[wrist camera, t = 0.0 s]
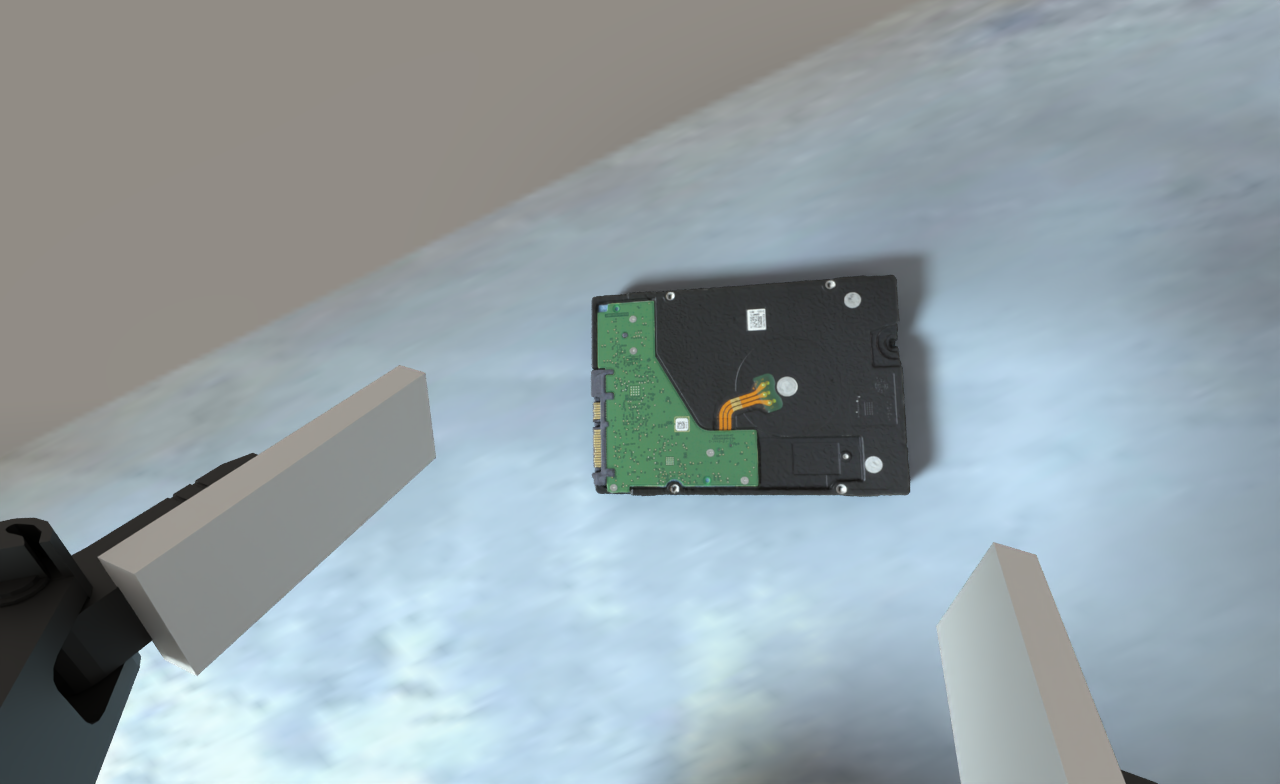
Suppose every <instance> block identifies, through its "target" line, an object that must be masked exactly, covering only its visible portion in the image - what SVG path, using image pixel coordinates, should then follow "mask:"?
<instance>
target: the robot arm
mask: <svg viewBox="0 0 1280 784" xmlns="http://www.w3.org/2000/svg"><path fill="white" fill-rule="evenodd" d="M435 458H436V453H435V445H434V438H433V430H432V422H431V414H430V406H429V398H428V390H427V382H426V374H425V373H424V372H421V371H417V370H414V369H411V368H407V367H404V366H401V365H399V366H398V367H396V368H394V369H393V370H391V371H390V372H388V373H387V374H385V375H383V376H382V377H380V378H379V379H377V380H376V381H374V382H372V383H371V384H369V385H368V386H366V387H365V388H363V389H361V390H360V391H358V392H357V393H355V394H353V395H352V396H350V397H349V398H347V399H346V400H344V401H342V402H341V403H339V404H338V405H336V406H335V407H333V408H331V409H330V410H328V411H327V412H325V413H324V414H322V415H320V416H319V417H317V418H316V419H314V420H313V421H311V422H309V423H308V424H306V425H305V426H303V427H301V428H300V429H298V430H297V431H295V432H294V433H292V434H290V435H289V436H287V437H286V438H284V439H283V440H281V441H279V442H278V443H276V444H275V445H273V446H272V447H270V448H268V449H267V450H265V451H264V452H262V453H261V454H259V455H257V454H254V453H251V454H248V455H246V456H243V457H240V458H238V459H235V460H232V461H230V462H227V463H224V464H222V465H220V466H219V467H217V468H215V469H214V470H212V471H210V472H209V473H207V474H205V475H204V476H202V477H201V478H199V479H197V480H196V481H195V483H194V484H193V485H191V484H189V485H188V486H186V487H184V488H183V489H181V490H179V491H178V492H176V493H174V494H173V497H172V498H166V499H165V500H163V501H161V502H160V503H158V504H157V505H155V506H153V507H152V508H150V509H148V510H147V511H145V512H143V513H142V514H140V515H139V516H137V517H135V518H134V519H132V520H130V521H129V522H127V523H126V524H124V525H122V526H121V527H119V528H117V529H116V530H114V531H113V532H111V533H109V534H108V535H106V536H104V537H103V538H101V539H99V540H98V541H96V542H95V543H93V544H91V545H90V546H88V547H86V548H85V549H83V550H81V551H79V552H77V553H75V554H73V555H72V556H71V554H70V553H69V552H68V550H67V549H66V547H65V546H64V544H63V543H62V541H61V540H60V539H59V537H58V536H57V534H56V533H55V531H54V530H53V529H52V527H51V526H50V524H49V523H48V522H47V521H44V520H40V519H37V518H16V519H10V520H6V521H2V522H0V784H95V783H96V780H97V777H98V775H99V772H100V770H101V767H102V764H103V762H104V759H105V757H106V754H107V751H108V749H109V746H110V744H111V741H112V738H113V736H114V733H115V730H116V728H117V725H118V723H119V720H120V717H121V715H122V712H123V710H124V707H125V704H126V702H127V699H128V697H129V694H130V691H131V689H132V686H133V684H134V681H135V678H136V676H137V673H138V671H139V668H140V660H141V656H140V654H139V653H138V651H139V650H141V649H142V648H143V647H144V646H146V645H147V644H148V643H149V642H151V641H153V643H154V644H155V646H156V647H157V649H158V650H159V652H160V654H161V655H162V657H163V658H164V660H166V661H168V662H170V663H172V664H174V665H176V666H178V667H180V668H182V669H184V670H186V671H188V672H190V673H192V674H194V675H196V676H198V675H199V674H200V673H201V672H202V671H203V670H204V669H205V668H206V667H207V666H209V665H210V664H211V663H212V662H213V661H214V660H215V659H216V658H217V657H218V656H219V655H221V654H222V653H223V652H224V651H225V650H226V649H227V648H228V647H229V646H230V645H231V644H233V643H234V642H235V641H236V640H237V639H238V638H239V637H240V636H241V635H242V634H244V633H245V632H246V631H247V630H248V629H249V628H250V627H251V626H252V625H253V624H254V623H256V622H257V621H258V620H259V619H260V618H261V617H262V616H263V615H264V614H265V613H267V612H268V611H269V610H270V609H271V608H272V607H273V606H274V605H275V604H276V603H277V602H279V601H280V600H281V599H282V598H283V597H284V596H285V595H286V594H287V593H288V592H289V591H291V590H292V589H293V588H294V587H295V586H296V585H297V584H298V583H299V582H300V581H302V580H303V579H304V578H305V577H306V576H307V575H308V574H309V573H310V572H311V571H312V570H314V569H315V568H316V567H317V566H318V565H319V564H320V563H321V562H322V561H323V560H325V559H326V558H327V557H328V556H329V555H330V554H331V553H332V552H333V551H334V550H335V549H337V548H338V547H339V546H340V545H341V544H342V543H343V542H344V541H345V540H346V539H347V538H349V537H350V536H351V535H352V534H353V533H354V532H355V531H356V530H357V529H358V528H360V527H361V526H362V525H363V524H364V523H365V522H366V521H367V520H368V519H369V518H370V517H372V516H373V515H374V514H375V513H376V512H377V511H378V510H379V509H380V508H381V507H383V506H384V505H385V504H386V503H387V502H388V501H389V500H390V499H391V498H392V497H393V496H395V495H396V494H397V493H398V492H399V491H400V490H401V489H402V488H403V487H404V486H405V485H407V484H408V483H409V482H410V481H411V480H412V479H413V478H414V477H415V476H416V475H418V474H419V473H420V472H421V471H422V470H423V469H424V468H425V467H426V466H427V465H428V464H430V463H431V462H432V461H433V460H434V459H435ZM936 628H937V634H938V641H939V647H940V653H941V660H942V666H943V672H944V679H945V685H946V691H947V698H948V704H949V710H950V717H951V723H952V729H953V736H954V742H955V749H956V755H957V761H958V768H959V774H960V780H961V784H1158V783H1155V782H1153V781H1150V780H1147V779H1144V778H1142V777H1139V776H1136V775H1134V774H1131V773H1128V772H1125V771H1123V770H1120V768H1119V765H1118V762H1117V760H1116V757H1115V755H1114V752H1113V750H1112V747H1111V745H1110V742H1109V739H1108V737H1107V734H1106V732H1105V729H1104V727H1103V724H1102V722H1101V719H1100V716H1099V714H1098V711H1097V709H1096V706H1095V704H1094V701H1093V699H1092V696H1091V693H1090V691H1089V688H1088V686H1087V683H1086V681H1085V678H1084V676H1083V673H1082V670H1081V668H1080V665H1079V663H1078V660H1077V658H1076V655H1075V653H1074V650H1073V647H1072V645H1071V642H1070V640H1069V637H1068V635H1067V632H1066V630H1065V627H1064V625H1063V622H1062V619H1061V617H1060V614H1059V612H1058V609H1057V607H1056V604H1055V602H1054V599H1053V596H1052V594H1051V591H1050V589H1049V586H1048V584H1047V581H1046V579H1045V576H1044V573H1043V571H1042V568H1041V566H1040V563H1039V561H1038V558H1037V556H1036V555H1035V554H1031V553H1028V552H1025V551H1021V550H1018V549H1015V548H1011V547H1008V546H1004V545H1001V544H998V543H994V542H993V544H992V545H991V546H990V548H989V549H988V551H987V552H986V554H985V555H984V557H983V558H982V560H981V561H980V563H979V564H978V566H977V567H976V569H975V570H974V571H973V573H972V574H971V576H970V577H969V579H968V580H967V582H966V583H965V585H964V586H963V588H962V589H961V591H960V592H959V594H958V595H957V596H956V598H955V599H954V601H953V602H952V604H951V605H950V607H949V608H948V610H947V611H946V613H945V614H944V616H943V617H942V619H941V620H940V621H939V623H938V624H937V626H936Z"/></svg>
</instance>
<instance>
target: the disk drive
mask: <svg viewBox="0 0 1280 784" xmlns="http://www.w3.org/2000/svg"><path fill="white" fill-rule="evenodd" d="M591 315H592V368H593V369H594V370H592V371H591V396H592V397H594V403H593V422H594V423H595V427H593V466H594V467H595V473H593V474H592V477H593V479H594V484H595V487H596V491H597V492H598V493H600V494H631V495H637V496H639V495H641V496H654V495H666V494H667V495H843V496H859V497H862V496H879V495H890V496H891V495H908V494H909V493H910V475H909V464H908V448H907V438H906V417H905V404H904V388H903V370H902V366H901V361H900V358H899V352H898V347H897V346H895V341H896V340H897V331H898V327H897V323H898V322H899V310H898V297H897V279H896V277H895V276H894V275H886V276H854V277H841V278H835V279H832V280H830V279H825V280H805V281H798V282H785V283H771V284H757V285H746V286H732V287H729V286H727V287H720V288H709V289H706V288H699V289H690V290H686V289H685V290H676V291H666V292H664V291H663V292H637V293H635V292H633V293H629V294H624V295H604V296H596V297H593V298H592V314H591Z"/></svg>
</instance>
